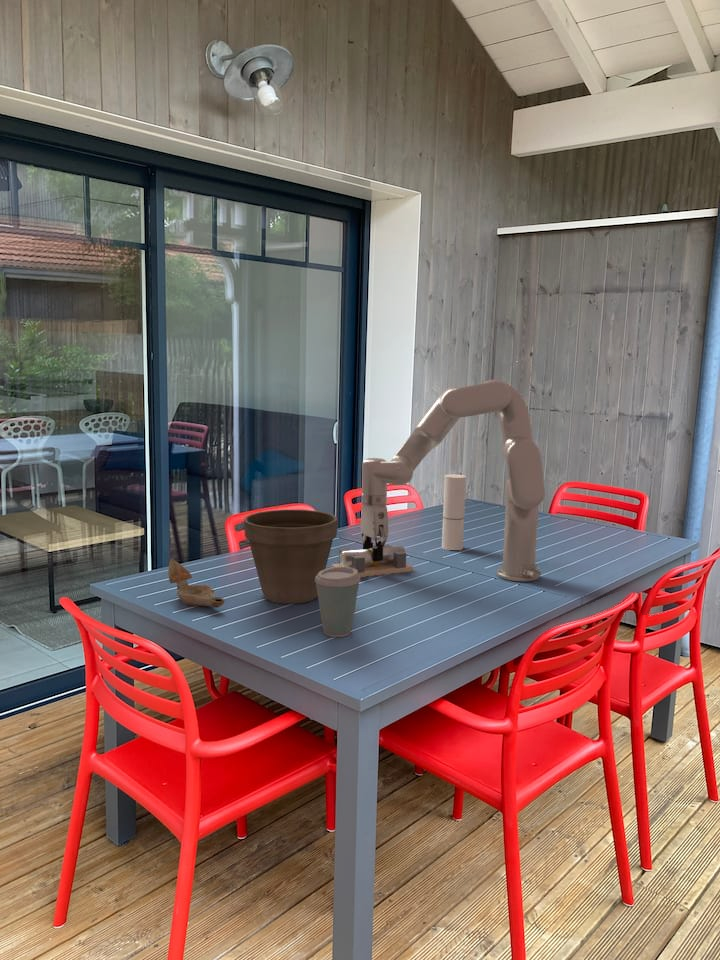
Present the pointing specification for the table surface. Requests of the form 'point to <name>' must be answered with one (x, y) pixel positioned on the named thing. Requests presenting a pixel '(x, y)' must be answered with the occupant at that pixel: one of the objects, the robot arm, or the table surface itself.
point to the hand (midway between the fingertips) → (372, 557)
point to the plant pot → (290, 551)
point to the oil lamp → (191, 588)
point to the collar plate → (363, 571)
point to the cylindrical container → (453, 512)
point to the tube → (369, 556)
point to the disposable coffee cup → (337, 599)
